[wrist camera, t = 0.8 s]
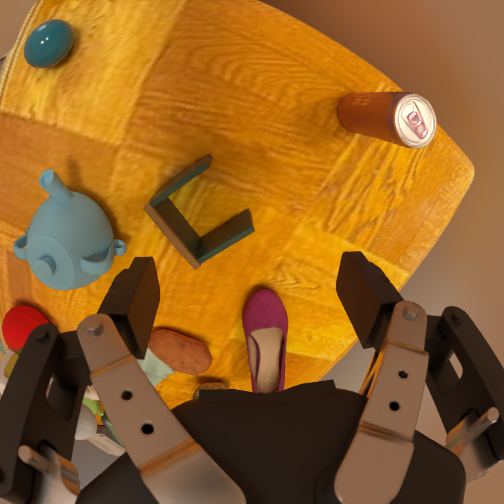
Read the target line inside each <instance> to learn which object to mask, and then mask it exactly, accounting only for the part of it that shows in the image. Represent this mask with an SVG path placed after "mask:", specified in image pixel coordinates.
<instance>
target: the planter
mask: <svg viewBox="0 0 504 504" xmlns="http://www.w3.org/2000/svg"><path fill="white" fill-rule="evenodd" d="M103 414H104V415H103V416H102V417H101V421H102V422H103V424H104V425H105V427H106V428H107V430H108V431H109V433H110V434H111V436H112V437H113V439H114V440H115V441H116V443H117V444H118V445H119V446H121V447H123V448H124V446H123V444H122V443H121V441H120V439H119V437H118V436H117V434H116V432H115V430H114V428H113V426H112V424H111V422H110V420H109V418H108V416H107V414H106V412H105V411H104V413H103ZM124 449H125V448H124Z"/></svg>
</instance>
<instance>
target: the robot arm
mask: <svg viewBox="0 0 504 504" xmlns="http://www.w3.org/2000/svg"><path fill="white" fill-rule="evenodd" d="M336 291H337V295H338V297H339V299H340V301H341V303H342V305H343V307H344V309H345V311H346V313H347V315H348V317H349V319H350V321H351V323H352V325H353V328H354V330H355V332H356V334H357V336H358V338H359V340H360V342H361V345H362V347H363V349H366V348H371V347H374V348H375V352H374V355H373V357H372V360H371V363H370V365H369V368H368V371H367V373H366V376H365V378H364V381H363V384H362V386H361V389H360V391H359V393H356V392H353V391H349V390H345V389H339V388H336V387H335V384H334V381H333V380H326V381H319V382H312V383H304V384H300V385H297V386H294V387H291V388H288V389H285V390H282V391H279V392H276V393H273V394H261V393H254V392H248V391H242V390H236V389H199V398H198V399H194V400H191V401H187V402H185V403H182V404H180V405H178V406H176V407H175V408H173V409H171V410H170V409H169V408H168V406H167V405H166V404H165V402H164V401H163V399H162V398H161V397H160V395H159V394H158V392H157V391H156V389H155V388H154V386H153V385H152V383H151V382H150V380H149V379H148V377H147V376H146V374H145V373H144V371H143V370H142V368H141V366H140V365H139V363H138V362H137V360H136V359H139V360H144V359H145V355H146V351H147V347H148V343H149V339H150V335H151V331H152V327H153V324H154V320H155V316H156V313H157V309H158V305H159V302H160V286H159V281H158V277H157V272H156V267H155V262H154V259H153V257H135V258H134V260H133V262H132V264H131V265H130V267H129V269H124V270H122V271H121V272H120V273H119V274H118V275H117V276H116V277H115V279H114V281H113V283H112V286H110V288H109V290H108V292H107V294H106V296H105V298H104V300H103V302H102V304H101V306H100V308H99V310H98V312H97V314H93V315H90V316H88V317H86V318H85V319H84V320H82V321H81V323H80V324H79V325H78V328H77V330H74V331H69V332H64V333H59V331H58V329H57V327H56V326H55V325H54V324H51V323H44V324H41V325H39V326H37V327H36V328H34V329H33V330H32V331H31V333H30V334H29V336H28V338H27V340H26V342H25V344H24V346H23V348H22V350H21V352H20V354H19V356H18V358H17V361H16V363H15V365H14V367H13V369H12V372H11V374H10V376H9V379H8V381H7V384H6V386H5V389H4V391H3V394H2V397H1V400H0V498H2V499H4V500H7V501H9V502H11V503H12V504H463V501H464V493H465V487H466V484H468V483H469V482H471V481H473V480H476V479H477V478H479V477H481V476H483V475H485V474H486V473H488V472H490V471H491V470H493V469H494V468H496V467H498V466H499V465H501V464H502V463H504V369H503V367H502V365H501V363H500V362H499V360H498V359H497V357H496V355H495V354H494V352H493V350H492V349H491V347H490V346H489V344H488V343H487V341H486V340H485V338H484V337H483V335H482V334H481V332H480V331H479V330H478V328H477V327H476V325H475V324H474V322H473V321H472V320H471V318H470V317H469V316H468V315H467V313H466V312H465V311H463V310H462V309H460V308H458V307H454V306H449V307H446V308H445V309H444V311H443V313H442V315H441V316H431V315H427V314H426V312H425V310H424V309H423V308H422V307H421V306H420V305H418V304H416V303H414V302H411V301H404V299H403V298H402V297H401V295H400V294H399V292H398V291H397V290H396V288H395V287H394V286H393V284H392V283H390V280H389V279H388V278H387V277H386V275H385V274H384V272H383V271H382V270H381V269H380V268H379V267H378V266H376V265H375V264H374V263H372V262H369V261H368V260H367V259H366V257H365V256H364V255H363V253H362V252H360V251H352V252H344V253H343V254H342V257H341V262H340V267H339V272H338V276H337V281H336ZM453 353H455V355H456V356H457V358H458V360H459V362H460V363H461V365H462V368H463V373H462V376H461V378H460V379H459V377H458V375H457V373H456V372H455V370H454V368H453V366H452V364H451V362H450V360H449V359H450V358H451V356H452V354H453ZM51 377H52V379H53V381H52V384H51V387H50V390H49V393H48V396H47V395H46V393H47V389H48V386H49V383H50V380H51ZM425 382H426V385H427V387H428V389H429V391H430V394H431V396H432V398H433V400H434V403H435V405H436V408H437V410H438V412H439V415H440V417H441V420H442V423H443V425H444V428H445V430H446V433H447V438H446V445H445V446H444V447H443V446H442V445H440V444H438V443H437V442H435V441H433V440H432V439H430V438H428V437H427V436H425V435H424V434H422V433H420V432H419V431H417V430H415V427H416V423H417V419H418V415H419V410H420V406H421V401H422V397H423V392H424V386H425ZM90 385H93V386H94V388H95V391H96V393H97V395H98V397H99V400H100V402H101V404H102V406H103V408H104V410H105V412H106V414H107V416H108V418H109V420H110V422H111V424H112V426H113V428H114V430H115V432H116V434H117V436H118V437H119V439H120V441H121V443H122V444H123V446H124V448H125V450H126V451H125V452H124V453H123V454H122V455H121V456H120V457H119V458H118V459H117V460H116V461H114V462H113V463H112V464H111V465H110V466H109V467H108V468H107V469H105V470H104V471H103V472H102V473H101V474H100V475H98V476H97V477H96V478H95V479H94V480H93V481H92V482H90V483H89V484H88V485H87V486H85V487H84V488H83V489H82V490H81V489H80V480H79V479H78V473H77V470H76V468H75V467H74V465H73V464H72V463H71V458H72V451H73V446H74V440H75V435H76V429H77V424H78V420H79V415H80V410H81V406H82V402H83V398H84V394H85V390H86V386H90Z"/></svg>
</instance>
